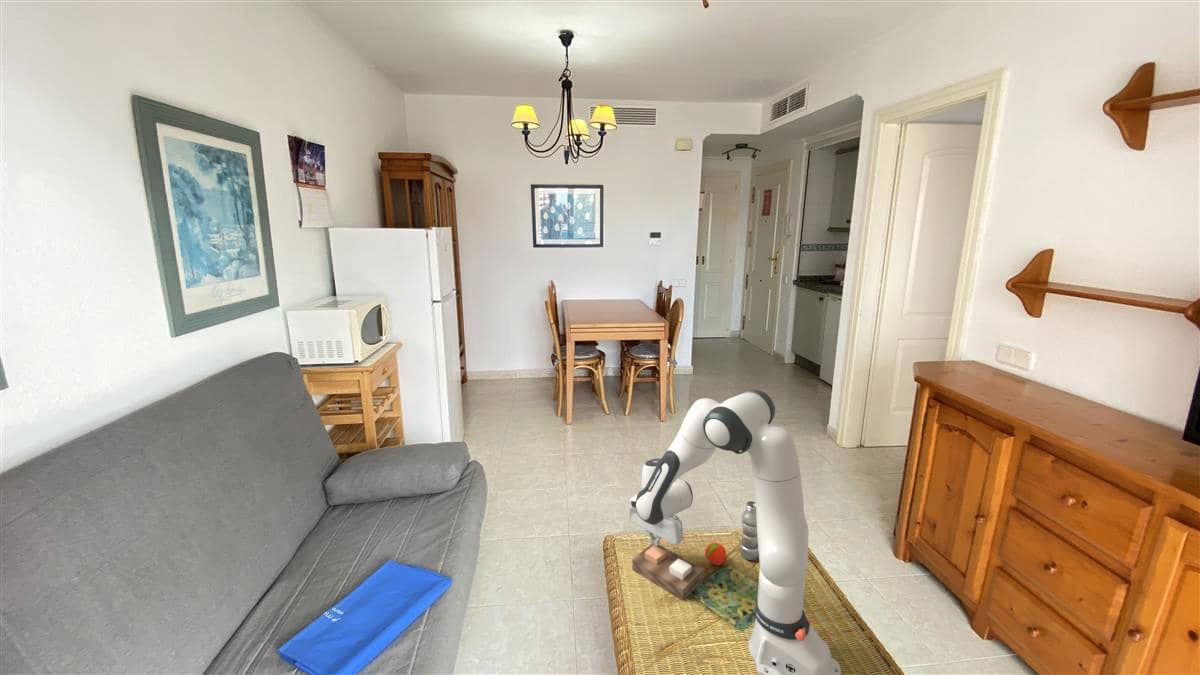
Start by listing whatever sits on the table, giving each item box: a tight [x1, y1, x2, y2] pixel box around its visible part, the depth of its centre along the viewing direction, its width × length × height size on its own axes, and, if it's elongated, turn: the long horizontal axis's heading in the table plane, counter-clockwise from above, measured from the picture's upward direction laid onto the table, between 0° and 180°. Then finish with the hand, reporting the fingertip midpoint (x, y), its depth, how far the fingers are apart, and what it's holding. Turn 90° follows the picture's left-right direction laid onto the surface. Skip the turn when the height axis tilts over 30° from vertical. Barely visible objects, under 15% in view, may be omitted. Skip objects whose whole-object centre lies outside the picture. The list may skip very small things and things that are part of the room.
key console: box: [631, 543, 705, 602], centre depth 156 cm, size 20×12×4 cm, turn 46°
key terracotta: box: [645, 545, 666, 565], centre depth 159 cm, size 5×5×3 cm
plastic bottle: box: [739, 500, 759, 561], centre depth 162 cm, size 6×7×20 cm
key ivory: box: [669, 559, 692, 580], centre depth 152 cm, size 5×5×3 cm
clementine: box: [704, 542, 727, 566], centre depth 160 cm, size 8×7×7 cm
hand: (654, 543), depth 158 cm, fingers closed
